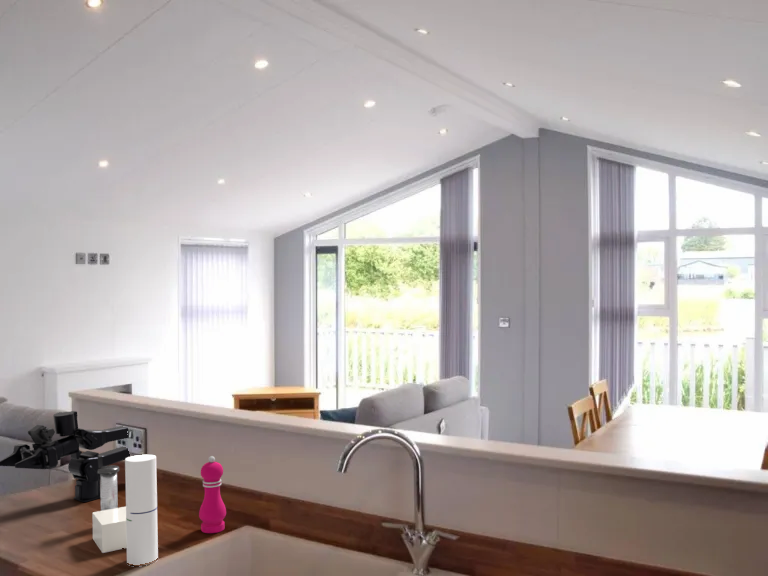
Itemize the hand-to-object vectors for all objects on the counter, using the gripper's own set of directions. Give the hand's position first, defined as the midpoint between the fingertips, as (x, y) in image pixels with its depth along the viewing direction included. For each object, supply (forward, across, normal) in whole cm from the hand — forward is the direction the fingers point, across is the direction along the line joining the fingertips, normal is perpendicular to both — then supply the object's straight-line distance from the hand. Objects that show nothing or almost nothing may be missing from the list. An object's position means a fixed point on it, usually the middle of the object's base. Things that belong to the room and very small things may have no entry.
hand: (6, 465), depth 200 cm
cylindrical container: (-1, +56, +21) cm, 60 cm away
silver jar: (-11, +30, +20) cm, 37 cm away
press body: (-7, +40, +20) cm, 45 cm away
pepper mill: (-25, +54, +23) cm, 63 cm away
